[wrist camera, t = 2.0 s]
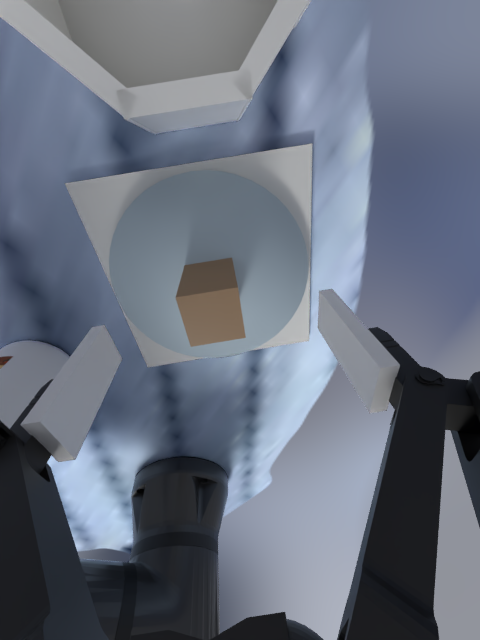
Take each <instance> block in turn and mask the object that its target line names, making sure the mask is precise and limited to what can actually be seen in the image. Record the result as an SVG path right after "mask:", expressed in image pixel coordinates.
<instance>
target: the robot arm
mask: <svg viewBox="0 0 480 640" xmlns="http://www.w3.org/2000/svg"><path fill="white" fill-rule="evenodd" d="M318 329H319V331H320V332H321V334H322V336H323V337H324V339H325V341H326V342H327V344H328V346H329V347H330V349H331V351H332V352H333V354H334V356H335V357H336V359H337V361H338V362H339V364H340V366H341V367H342V369H343V370H344V372H345V374H346V375H347V377H348V379H349V380H350V382H351V384H352V385H353V387H354V389H355V390H356V392H357V394H358V395H359V397H360V398H361V400H362V402H363V403H364V405H365V407H366V408H367V410H368V412H369V413H375V412H381V411H387V408H388V404H389V402H390V403H391V405H392V406H393V407H394V409H395V411H394V414H393V417H392V420H391V423H390V425H391V426H390V431H389V435H388V439H387V443H386V447H385V451H384V455H383V459H382V463H381V467H380V472H379V475H378V479H377V484H376V488H375V491H374V496H373V500H372V504H371V508H370V512H369V516H368V520H367V524H366V528H365V532H364V536H363V540H362V544H361V548H360V553H359V557H358V561H357V565H356V569H355V573H354V577H353V581H352V585H351V589H350V593H349V596H348V600H347V603H346V607H345V610H344V614H343V618H342V622H341V626H340V630H339V634H338V638H337V640H439V635H438V626H437V623H436V620H435V617H434V611H433V605H434V588H435V573H436V558H437V544H438V529H439V514H440V499H441V485H442V469H443V455H444V439H445V430H451V433H452V436H453V439H454V443H455V446H456V450H457V453H458V456H459V460H460V463H461V466H462V470H463V473H464V476H465V480H466V483H467V487H468V490H469V493H470V497H471V500H472V503H473V507H474V510H475V514H476V517H477V520H478V523H479V527H480V372H476V373H474V374H473V375H472V376H471V377H470V380H459V379H448V378H445V377H444V376H443V375H442V374H440V373H439V372H437V371H435V370H433V369H430V368H426V367H421V366H420V365H419V364H418V363H417V362H416V361H415V360H414V359H413V358H411V356H410V355H409V354H408V353H407V352H406V351H405V350H404V349H403V348H402V347H400V346H399V344H398V343H397V342H396V341H394V339H393V338H392V337H391V336H390V335H389V334H388V333H387V332H385V331H383V330H381V329H380V328H378V327H376V328H369V329H368V328H367V327H366V326H365V325H364V324H363V323H362V322H361V321H360V320H359V318H358V317H357V316H356V315H355V314H354V313H353V312H352V311H351V309H350V308H349V307H348V306H347V305H346V304H345V303H344V302H343V301H342V299H341V298H340V297H339V296H338V295H337V294H336V293H335V292H334V291H333V289H328V290H322V291H319V311H318ZM121 361H122V357H121V355H120V353H119V352H118V350H117V348H116V346H115V344H114V342H113V340H112V338H111V336H110V334H109V333H108V331H107V329H106V327H105V325H101V326H95V327H92V328H91V329H90V330H89V332H88V333H87V334H86V336H85V337H84V339H83V340H82V341H81V343H80V344H79V345H78V347H77V348H76V349H75V351H74V352H73V354H72V355H71V356H70V358H69V359H68V360H67V362H66V363H65V364H64V366H63V367H62V369H61V370H60V371H59V373H58V374H57V375H56V377H55V378H54V379H51V380H50V381H49V382H47V383H46V384H45V385H44V386H43V387H41V389H40V390H39V391H38V392H37V394H36V395H35V396H34V398H33V399H32V400H31V402H30V403H29V406H27V407H26V408H25V410H24V411H23V412H22V413H21V415H20V416H19V417H18V419H17V420H16V421H15V423H14V424H13V425H12V427H11V428H10V429H9V428H8V427H7V426H6V425H5V424H4V423H3V422H2V421H1V420H0V640H323V639H322V638H321V637H320V636H319V635H318V634H317V633H315V632H314V631H312V630H311V629H309V628H308V627H306V626H305V625H302V624H300V623H298V622H296V621H292V620H289V619H286V615H285V612H281V613H275V614H268V615H262V616H256V617H249V618H246V619H244V620H243V621H241V622H239V623H237V624H236V625H234V626H232V627H231V628H229V629H227V630H226V631H224V632H222V633H220V629H219V577H218V534H219V530H220V526H221V521H222V517H223V513H224V509H225V504H226V500H227V496H228V479H227V474H226V473H225V471H224V470H223V469H222V468H221V467H220V466H218V465H216V464H215V463H212V462H210V461H207V460H203V459H198V458H187V457H181V458H171V459H165V460H161V461H158V462H155V463H152V464H150V465H148V466H147V467H145V468H144V469H142V470H141V471H140V472H139V473H138V474H137V476H136V478H135V482H134V486H133V490H132V496H131V501H132V521H133V546H132V551H131V556H130V561H129V563H127V562H116V561H104V560H92V559H79V556H78V553H77V550H76V547H75V543H74V540H73V537H72V534H71V531H70V527H69V524H68V521H67V518H66V515H65V511H64V508H63V505H62V502H61V499H60V496H59V492H58V489H57V486H56V483H55V480H54V476H53V473H52V470H51V467H50V466H49V465H48V464H47V461H48V460H49V458H50V456H51V455H52V456H53V457H54V458H55V459H56V460H57V461H58V462H62V461H69V460H75V459H76V457H77V455H78V453H79V451H80V449H81V447H82V444H83V442H84V440H85V438H86V436H87V434H88V432H89V429H90V427H91V425H92V423H93V421H94V419H95V417H96V414H97V412H98V410H99V408H100V406H101V404H102V401H103V399H104V397H105V395H106V393H107V391H108V389H109V386H110V384H111V382H112V380H113V378H114V376H115V373H116V371H117V369H118V367H119V365H120V363H121Z"/></svg>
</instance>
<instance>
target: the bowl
mask: <svg viewBox="0 0 480 640" xmlns="http://www.w3.org/2000/svg"><path fill="white" fill-rule="evenodd" d="M310 2H311V0H0V17H1V18H2V19H3V20H5V21H6V22H7V23H8V24H10V25H11V26H12V27H13V28H15V29H16V30H17V31H18V32H20V33H21V34H22V35H23V36H24V37H26V38H27V39H28V40H29V41H31V42H32V43H33V44H34V45H36V46H37V47H38V48H39V49H41V50H42V51H43V52H44V53H45V54H47V55H48V56H49V57H50V58H52V59H53V60H54V61H55V62H57V63H58V64H59V65H60V66H62V67H63V68H64V69H65V70H66V71H68V72H69V73H70V74H71V75H73V76H74V77H75V78H76V79H78V80H79V81H80V82H81V83H83V84H84V85H85V86H86V87H87V88H89V89H90V90H91V91H92V92H94V93H95V94H96V95H97V96H99V97H100V98H101V99H102V100H104V101H105V102H106V103H107V104H108V105H110V106H111V107H112V108H113V109H115V110H116V111H117V112H118V113H120V114H121V115H122V116H123V118H124V119H125V120H127V121H129V122H131V123H133V124H135V125H137V126H139V127H141V128H143V129H145V130H147V131H149V132H151V133H153V134H156V135H157V134H159V133H165V132H171V131H178V130H184V129H190V128H196V127H203V126H209V125H215V124H221V123H227V122H234V121H236V122H237V121H239V120H240V119H241V117H242V115H243V114H244V112H245V110H246V109H247V107H248V106H249V104H250V102H251V101H252V99H253V95H254V93H255V91H256V90H257V88H258V86H259V85H260V83H261V81H262V80H263V78H264V76H265V75H266V73H267V71H268V70H269V68H270V66H271V65H272V63H273V61H274V60H275V58H276V56H277V55H278V53H279V51H280V50H281V48H282V46H283V45H284V43H285V41H286V40H287V38H288V36H289V34H290V33H291V31H292V29H293V28H295V27H296V25H297V24H298V22H299V20H300V19H301V17H302V15H303V14H304V12H305V10H306V9H307V7H308V5H309V4H310Z"/></svg>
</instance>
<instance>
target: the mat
mask: <svg viewBox="0 0 480 640" xmlns="http://www.w3.org/2000/svg"><path fill="white" fill-rule="evenodd" d="M200 170H212V171H223V172H227V173H232V174H236V175H239V176H241V177H244V178H247V179H249V180H252V181H253V182H255V183H257V184H259V185H260V186H262V187H264V188H266V189H267V190H268V191H269V192H271V193H272V194H273V195H275V196H276V197H277V198H278V199H279V200H280V201H281V202H282V203H283V204H284V205H285V206H286V207H287V209H288V210H289V211H290V213H291V214H292V216H293V217H294V218H295V220H296V222H297V224H298V226H299V228H300V230H301V232H302V235H303V238H304V241H305V244H306V249H307V254H308V280H307V284H306V289H305V292H304V295H303V298H302V301H301V303H300V305H299V307H298V309H297V311H296V312H295V314H294V315H293V317H292V318H291V320H290V321H289V322H288V323H287V325H286V326H285V327H284V328H283V329H282V330H281V331H280V332H279V333H278V334H277V335H276V336H274V337H273V338H271V339H270V340H269V341H267V342H266V343H264V344H262V345H261V346H259V347H257V348H255V349H252V350H257V349H263V348H269V347H275V346H281V345H287V344H293V343H299V342H305V341H309V315H310V255H311V195H312V144H306V145H299V146H293V147H287V148H281V149H275V150H268V151H262V152H256V153H250V154H244V155H237V156H231V157H225V158H219V159H213V160H206V161H200V162H194V163H188V164H181V165H175V166H169V167H163V168H157V169H150V170H144V171H138V172H132V173H126V174H119V175H113V176H107V177H101V178H94V179H88V180H82V181H76V182H70V183H65V185H66V187H67V190H68V192H69V194H70V196H71V199H72V201H73V203H74V205H75V207H76V210H77V212H78V214H79V216H80V218H81V221H82V223H83V225H84V227H85V230H86V232H87V234H88V236H89V238H90V241H91V243H92V245H93V247H94V249H95V252H96V254H97V256H98V258H99V260H100V263H101V265H102V267H103V269H104V272H105V274H106V276H107V278H108V280H109V283H110V285H111V287H112V282H111V278H110V269H109V254H110V246H111V242H112V237H113V234H114V232H115V229H116V227H117V224H118V222H119V220H120V219H121V217H122V215H123V214H124V212H125V210H126V209H127V208H128V207H129V206H130V205H131V203H132V202H133V201H134V200H135V199H136V198H137V197H138V196H139V195H140V194H142V193H143V192H144V191H145V190H146V189H148V188H150V187H151V186H153V185H154V184H156V183H158V182H159V181H162V180H164V179H166V178H169V177H171V176H174V175H177V174H182V173H186V172H190V171H200ZM112 289H113V287H112ZM113 291H114V290H113ZM114 294H115V292H114ZM115 296H116V295H115ZM118 303H119V302H118ZM119 305H120V304H119ZM120 307H121V306H120ZM121 309H122V307H121ZM122 311H123V309H122ZM123 314H124V316H125V318H126V320H127V322H128V325H129V327H130V329H131V331H132V334H133V336H134V338H135V340H136V342H137V345H138V347H139V349H140V351H141V353H142V356H143V358H144V360H145V362H146V364H147V367H154V366H160V365H166V364H172V363H178V362H185V361H191V360H197V359H203V358H201V357H194V356H188V355H184V354H181V353H177V352H174V351H172V350H170V349H167V348H165V347H163V346H161V345H159V344H158V343H156V342H154V341H153V340H151V339H150V338H149V337H147V336H146V335H145V334H143V333H142V332H141V331H140V330H139V329H138V328H137V327H136V326H135V325H134V324H133V323H132V322H131V321H130V319H129V318H128V317H127V315H126V314H125V312H124V311H123ZM250 351H251V350H250Z"/></svg>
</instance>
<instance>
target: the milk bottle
mask: <svg viewBox="0 0 480 640" xmlns="http://www.w3.org/2000/svg"><path fill="white" fill-rule="evenodd" d="M69 358H70V356H69V355H68V354H67V353H65V352H64V351H62V350H61V349H59V348H57V347H55V346H53V345H50V344H48V343H44V342H40V341H33V340H23V341H18V342H14V343H11V344H8V345H6V346H4V347H3V348H1V349H0V420H1V421H2V422H3V423H4V424H5V425H6V426H7V427H8V428H9V429H10V428H11V427H12V425H13V424H14V423H15V421H16V420H17V419H18V417H19V416H20V415H21V413H22V412H23V411H24V410H25V408H26V407H27V406H29V403H30V402H31V400H32V399H33V398H34V396H35V395H36V394H37V392H38V391H39V390H40V389H41V387H43V386H44V385H45V384H46V383H47V382H49V381H50V380H51V379H54V378H55V377H56V375H57V374H58V373H59V371H60V370H61V369H62V367H63V366H64V364H65V363H66V362H67V360H68V359H69Z"/></svg>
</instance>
